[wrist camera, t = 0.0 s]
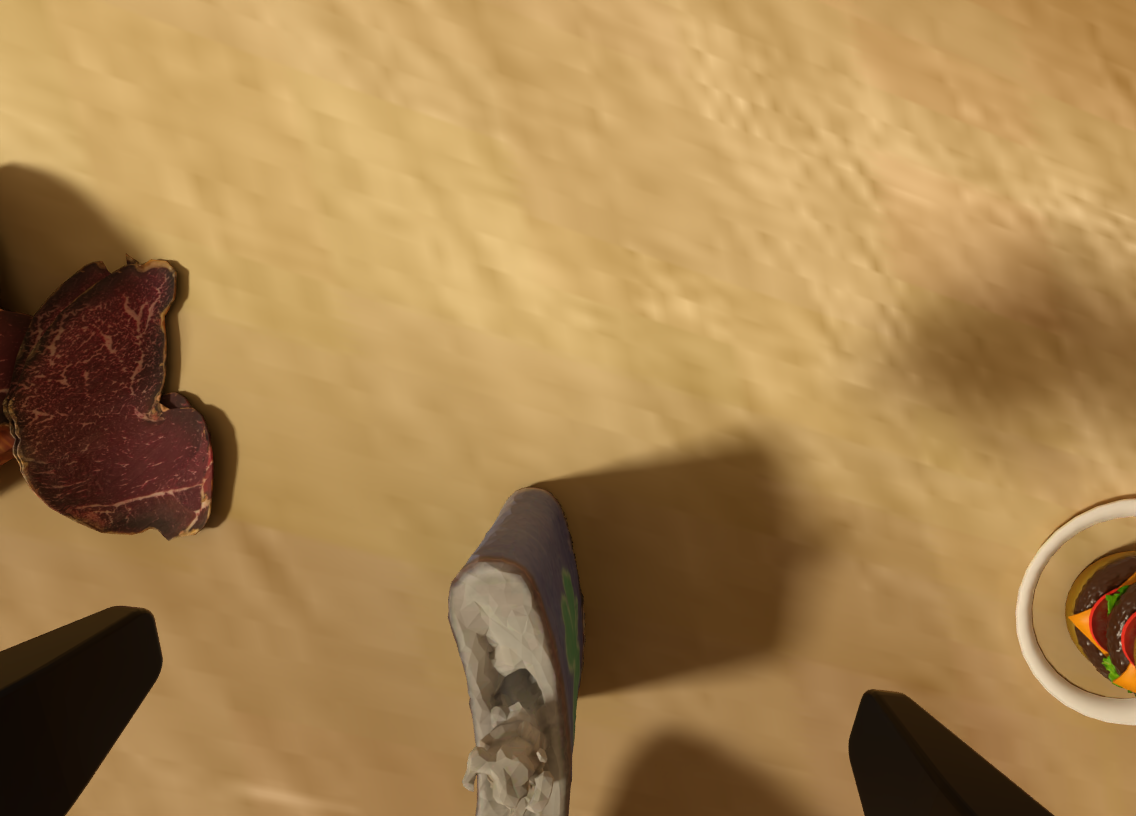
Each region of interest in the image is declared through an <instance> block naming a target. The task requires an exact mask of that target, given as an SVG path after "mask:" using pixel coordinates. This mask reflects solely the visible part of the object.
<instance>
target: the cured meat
mask: <svg viewBox="0 0 1136 816" xmlns="http://www.w3.org/2000/svg"><path fill="white" fill-rule="evenodd" d="M126 259H127V265H126V266H123V267H122V268H120V269H118V270H117V271H115V272H113V273H112V274H111V273H110V272H108V270H107V269H106V267H105V265H104V263H103V262H102V261H98V262H92V263H90V264H88V265H86V266H84V267H83V268H82V269H81V270H79V271H78V272H77V273H76V274H74V275H73V276H72V277H71V278H70V279H68V280H67V281H66V282H64V283H63V284H62V285H61V286H60V287H59V288H58V289H56V291H55V292H54V293H53V294H52V295H51V296H50V297H49V298H48V299H47V300H46V302H45V303H44V304H43V305H42V307H41V308H40V309H39V310H38V312H37V313H36V314H35V315H34V317H32V316H30V315H27V314H24V313H18V312H12V311H5V310H2V309H0V466H1V465H2V464H4V463H6V462H7V461H9V460H11V459H12V458H14V457H15V458H16V460H17V461H18V463H19V465H20V472H21V473H22V475H23V477H24V479H25V480H26V482H27V484H28V486H29V487H30V488H31V490H32V491H33V492H34V493H35V494H36V495H37V496H38V497H39V498H40V499H41V500H42V501H43V502H44V503H45V504H46V505H47V506H48V507H49V508H51V509H53V510H55V511H57V512H59V513H60V514H62V515H64V516H66V517H68V518H70V519H72V520H73V521H75V522H77V523H79V524H82V525H84V526H87V527H89V528H91V529H94V530H96V531H98V532H101V533H109V534H129V535H133V534H137V533H141V532H144V531H146V530H148V529H156V530H158V531H159V532H160V533H161V534H162V535H163V536H164V537H165V538H166V539H167V540H168V541H169V540H172V539H174V538H177V537H181V536H187V535H195V534H197V533H198V532H199V531H200V530H201V529H203V528H204V527H205V525H206V523H207V521H208V519H209V517H210V514H211V504H212V493H213V477H214V473H213V465H214V463H213V451H212V445H211V436H210V432H209V430H208V427H207V425H206V422H205V420H204V417H203V415H202V414H201V413H199V412H198V411H197V410H196V409H195V408H192V407H191V405H190V403H189V402H188V400H187V398H186V397H184V396H182V395H181V394H179V393H177V392H174V393H167V394H163V395H161V393H162V390H163V387H164V381H165V375H166V348H167V341H166V329H165V315H166V313H167V312H168V311H169V308H170V306H171V304H172V303H173V301H174V300H175V296H176V277H177V272H176V270H175V269H174V268H173V267H172V266H171V265H170V264H169V262H168V261H162V260H152V259H151V260H149V261H148V262H146V263H145V264H138V262H137V261H136V260H134V259H133V258H131V257H130V256H129V255H127V254H126Z"/></svg>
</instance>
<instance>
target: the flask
mask: <svg viewBox="0 0 1136 816" xmlns="http://www.w3.org/2000/svg"><path fill="white" fill-rule="evenodd" d="M566 519H567V518H565V517H564V513H563V511H562V508H561V505H560V504H559V502H558V501H557V499H555V498H554V497H553V495H552V493H550V492H548V491H546V490H543V489H540V488H535V487H525V488H522V489H519V490H517V491H515V492H514V493H513V494H512V495H511V496H510V497H509V498H508V500H507V501H506V503H505V504H504V506H503V508H502V509H501V511H500V514H499V516H498V517H497V519H496V521H495V523H494V524H493V526H492V527H491V529H490V530H489V531H488V532H487V533H486V536H485V538H484V540H483V541H482V542H481V544H480V545H479V547H478V548H477V549H476V551H475V552H474V553H473V554H472V556H471V557H470V559H469V560H468V562H467V563H466V564H465V566H464V567H463V568H462V569H461V570H460V572H459V573H458V574H457V576H456V577H455V578H454V580H453V581H452V583H451V586H450V591H449V599H448V603H449V613H448V619H449V623H450V626H451V629H452V632H453V635H454V638H455V641H456V643H457V647H458V651H459V655H460V657H461V660H462V664H463V667H464V671H465V674H466V678H467V685H468V694H469V696H470V701H469V705H470V709H471V713H472V718H473V725H474V733H475V742H476V747H475V748H474V749H473V750H472V751H471V752H470V753H469V758H468V762H467V771H466V773H465V776H464V778H463V781H462V782H463V786H464V787H465V788H466V789H468V790H469V791H473V792H474V781H475V777H476V775H477V791H478V793H477V808H476V816H568V814H569V800H570V787H571V782H572V753H573V746H574V736H575V721H576V706H577V698H578V690H579V687H580V680H581V673H582V669H583V664H584V662H583V659H584V657H583V656H584V655H583V654H584V652H583V650H584V645H585V644H584V643H585V635H584V629H585V622H584V620H585V613H584V610H583V604H584V599H583V595H582V593H581V588H580V584H579V576H578V571H577V568H576V567H577V565H576V561H575V554H574V553H573V548H572V547H573V545H572V543H573V542H572V540H571V535H570V532H569V531H568V524H567V521H566Z"/></svg>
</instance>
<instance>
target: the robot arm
mask: <svg viewBox="0 0 1136 816" xmlns="http://www.w3.org/2000/svg"><path fill="white" fill-rule="evenodd" d="M162 662H163V658H162V652H161V647H160V642H159V637H158V632H157V628H156V623H155V618H154V615H153V614H152V613H151V612H150V611H149V610H147V609H145V608H137V607H128V606H114V607H110V608H107V609H105V610H102V611H100V612H97V613H95V614H92V615H90V616H87V617H85V618H82V619H80V620H77V621H75V622H73V623H70V624H68V625H65V626H63V627H60V628H58V629H55V630H53V631H50V632H48V633H45V634H43V635H40V636H38V637H35V638H33V639H30V640H28V641H25V642H23V643H20V644H18V645H16V646H13V647H11V648H8V649H6V650H3V651H1V652H0V816H65V815H66V814H67V813H68V811H69V810H70V809H71V807H72V806H73V805H74V803H75V802H76V800H77V799H78V797H79V796H80V794H81V793H82V792H83V790H84V789H85V787H86V786H87V784H88V783H89V781H90V780H91V778H92V777H93V775H94V774H95V772H96V771H97V769H98V768H99V766H100V765H101V763H102V762H103V760H104V759H105V757H106V756H107V754H108V753H109V751H110V750H111V748H112V747H113V745H114V744H115V742H116V741H117V739H118V738H119V736H120V735H121V733H122V732H123V730H124V729H125V727H126V726H127V724H128V723H129V721H130V720H131V718H132V717H133V715H134V714H135V712H136V711H137V709H138V708H139V706H140V705H141V703H142V702H143V700H144V699H145V697H146V696H147V694H148V692H149V691H150V689H151V688H152V686H153V685H154V683H155V682H156V680H157V678H158V676H159V674H160V672H161V668H162ZM849 758H850V763H851V766H852V770H853V774H854V778H855V781H856V785H857V789H858V792H859V796H860V800H861V804H862V807H863V811H864V815H865V816H1054V815H1053V814H1052V813H1050V812H1049V811H1048V810H1047V809H1046V808H1044V807H1043V806H1042V805H1041V804H1039V803H1038V802H1037V801H1036V800H1035V799H1033V798H1032V797H1031V796H1030V795H1028V794H1027V793H1026V792H1025V791H1023V790H1022V789H1021V788H1020V787H1019V786H1017V785H1016V784H1015V783H1014V782H1012V781H1011V780H1010V779H1009V778H1008V777H1006V776H1005V775H1004V774H1003V773H1001V772H1000V771H999V770H998V769H996V768H995V767H994V766H993V765H992V764H990V763H989V762H988V761H987V760H985V759H984V758H983V757H982V756H981V755H979V754H978V753H977V752H976V751H974V750H973V749H972V748H971V747H969V746H968V745H967V744H966V743H965V742H963V741H962V740H961V739H960V738H958V737H957V736H956V735H955V734H954V733H952V732H951V731H950V730H949V729H947V728H946V727H945V726H944V725H942V724H941V723H940V722H939V721H938V720H936V719H935V718H934V717H933V716H931V715H930V714H929V713H928V712H927V711H925V710H924V709H923V708H922V707H920V706H919V705H918V704H917V703H915V702H914V701H913V700H912V699H911V698H909V697H908V696H906V695H905V694H903V693H899V692H893V691H884V690H875V689H871V690H868V691H866V692H865V693H864V694H863V696H862V699H861V702H860V705H859V708H858V711H857V715H856V718H855V721H854V724H853V728H852V731H851V734H850V738H849Z"/></svg>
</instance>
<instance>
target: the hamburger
mask: <svg viewBox="0 0 1136 816" xmlns="http://www.w3.org/2000/svg"><path fill="white" fill-rule="evenodd" d="M1134 516H1136V498H1132V499H1122V500H1117V501H1114V502H1110V503H1107V504H1103V505H1100V506H1096V507H1094V508H1092V509H1090V510H1088V511H1086V512H1084V513H1082V514H1080V515H1078V516H1076V517H1074V518H1073V519H1071V520H1070V521H1069V522H1067V523H1066V524H1065V525H1063V526H1062V527H1061V528H1059V529H1058V530H1056V531H1055V532H1054V533H1053V534H1052V535H1051V537H1050V538H1049V539H1048V540H1047V541H1046V542H1045V543H1044V544H1043V545H1042V546H1041V547H1040V548H1039V550H1038V551H1037V553H1036V555H1035V556H1034V558H1033V559H1032V561H1031V563H1030V564H1029V566H1028V567H1027V569H1026V572H1025V575H1024V577H1023V580H1022V583H1021V585H1020V588H1019V592H1018V599H1017V606H1016V628H1017V636H1018V640H1019V643H1020V647H1021V650H1022V654H1023V656H1024V658H1025V660H1026V662H1027V664H1028V666H1029V668H1030V669H1031V671H1032V673H1033V675H1034V676H1035V677H1036V678H1037V680H1038V681H1039V682H1040V683H1041V684H1042V686H1043V687H1044V688H1045V689H1046V690H1047V691H1048V692H1049V693H1050V694H1051V695H1053V696H1054V697H1055V698H1056V699H1058V700H1059V701H1060V702H1061V703H1063V704H1064V705H1065V706H1067V707H1069V708H1071V709H1073V710H1075V711H1077V712H1079V713H1081V714H1083V715H1085V716H1088V717H1091V718H1094V719H1098V720H1101V721H1104V722H1108V723H1117V724H1126V725H1136V698H1130V699H1118V698H1109V697H1102V696H1099V695H1095V694H1092V693H1089V692H1086V691H1084V690H1082V689H1080V688H1078V687H1076V686H1074V685H1072V684H1070V683H1069V682H1068V681H1066V680H1065V679H1064V678H1063V677H1061V676H1060V675H1059V674H1058V673H1057V672H1056V671H1055V670H1054V669H1053V668H1052V666H1051V665H1050V664H1049V663H1048V662H1047V660H1046V659H1045V657H1044V655H1043V653H1042V651H1041V650H1040V648H1039V646H1038V644H1037V641H1036V637H1035V633H1034V630H1033V626H1032V602H1033V596H1034V590H1035V587H1036V585H1037V582H1038V580H1039V577H1040V574H1041V572H1042V571H1043V569H1044V568H1045V566H1046V564H1047V563H1048V561H1049V560H1050V558H1051V557H1052V556H1053V555H1054V554H1055V553H1056V551H1057V550H1058V549H1059V548H1060V547H1061V546H1062V545H1063V544H1064V543H1065V542H1067V541H1068V540H1069V539H1071V538H1072V537H1074V536H1075V535H1076V534H1078V533H1079V532H1081V531H1083V530H1085V529H1087V528H1089V527H1091V526H1093V525H1095V524H1097V523H1101V522H1104V521H1108V520H1112V519H1115V518H1123V517H1134ZM1065 617H1066V623H1067V628H1068V631H1069V633H1070V636H1071V638H1072V640H1073V642H1074V643H1075V645H1076V646H1077V648H1078V649H1079V650H1080V652H1081V653H1082V654H1083V655H1084V656H1085V657H1086V658H1087V659H1088V660H1089V661H1090V662H1091V663H1092V664H1093V665H1094V666H1095V667H1096V669H1097V671H1098V672H1100V673H1101V674H1102V675H1103V676H1104V677H1105V678H1107V679H1109V680H1110V681H1112V683H1113V684H1114V685H1116V686H1118V687H1121V688H1125V689H1127V690H1128V692H1129V693H1134V694H1135V696H1136V551H1126V552H1120V553H1115V554H1112V555H1109V556H1107V557H1104V558H1102V559H1100V560H1098V561H1096V562H1095V563H1093V564H1091V565H1090V566H1088V567H1087V568H1086V569H1085V570H1084V571H1083V572H1082V573H1081V574H1080V575H1079V576H1078V578H1077V579H1076V580H1075V581H1074V583H1073V585H1072V587H1071V589H1070V591H1069V593H1068V597H1067V601H1066V608H1065Z"/></svg>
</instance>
